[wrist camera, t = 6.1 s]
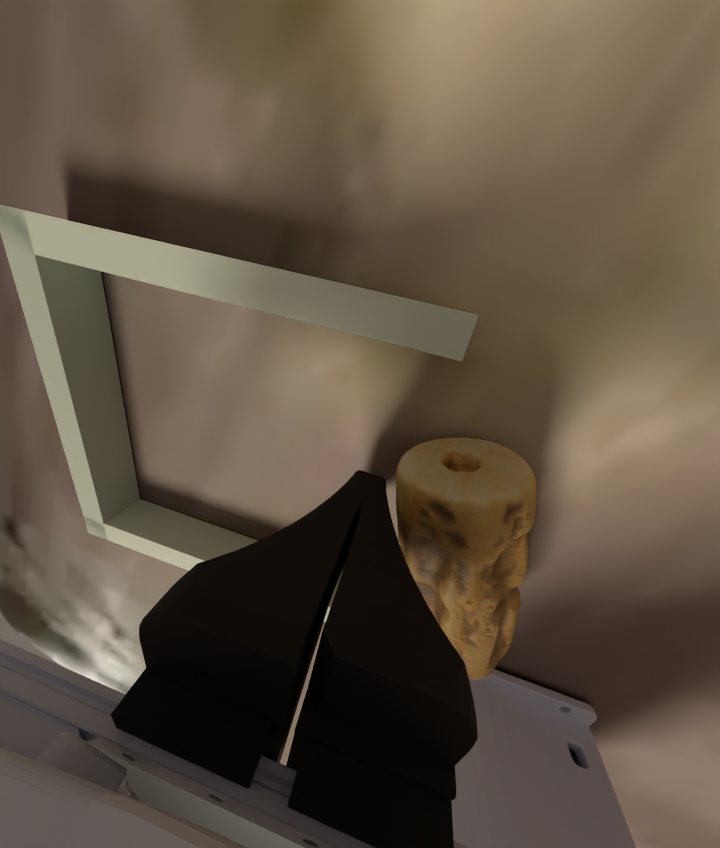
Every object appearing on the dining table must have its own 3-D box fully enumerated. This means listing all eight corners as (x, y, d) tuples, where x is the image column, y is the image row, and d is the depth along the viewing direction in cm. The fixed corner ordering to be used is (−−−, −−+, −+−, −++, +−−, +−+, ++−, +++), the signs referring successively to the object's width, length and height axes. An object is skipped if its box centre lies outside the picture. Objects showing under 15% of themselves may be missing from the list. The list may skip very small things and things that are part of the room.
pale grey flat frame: (468, 313, 9) (479, 314, 7) (369, 595, 15) (361, 635, 13) (66, 220, 10) (-9, 202, 9) (125, 508, 17) (88, 532, 15)
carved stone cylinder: (497, 593, 13) (531, 705, 9) (405, 586, 14) (403, 686, 10) (514, 430, 10) (574, 499, 6) (396, 433, 11) (388, 496, 7)
